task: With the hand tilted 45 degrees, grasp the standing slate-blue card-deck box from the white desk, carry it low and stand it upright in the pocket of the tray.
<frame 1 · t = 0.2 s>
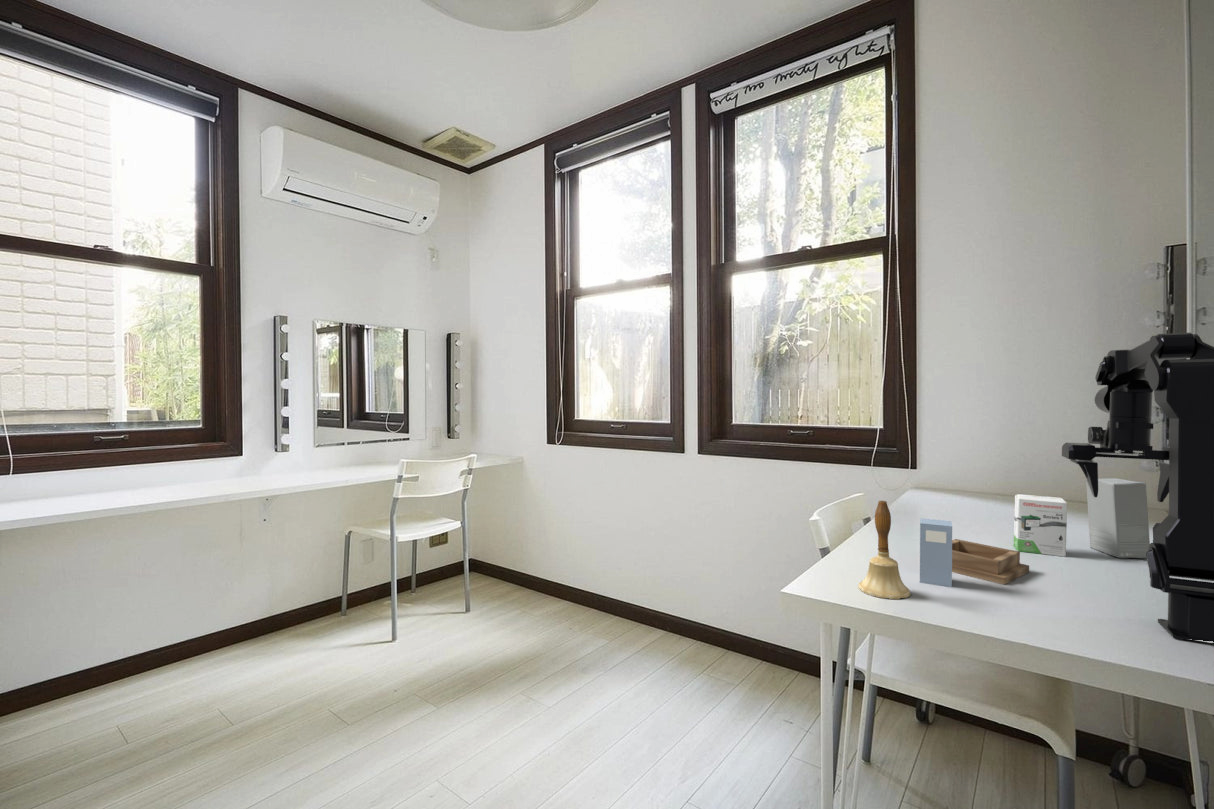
hand: (1126, 499, 103), 15 cm above the table, tool pointing down, fingers open, 9 cm apart
deck box: (935, 580, 102), on the table
ink box: (1039, 552, 119), on the table
hand bell: (883, 591, 97), on the table
skincare box: (1116, 554, 117), on the table
tray: (975, 568, 108), on the table
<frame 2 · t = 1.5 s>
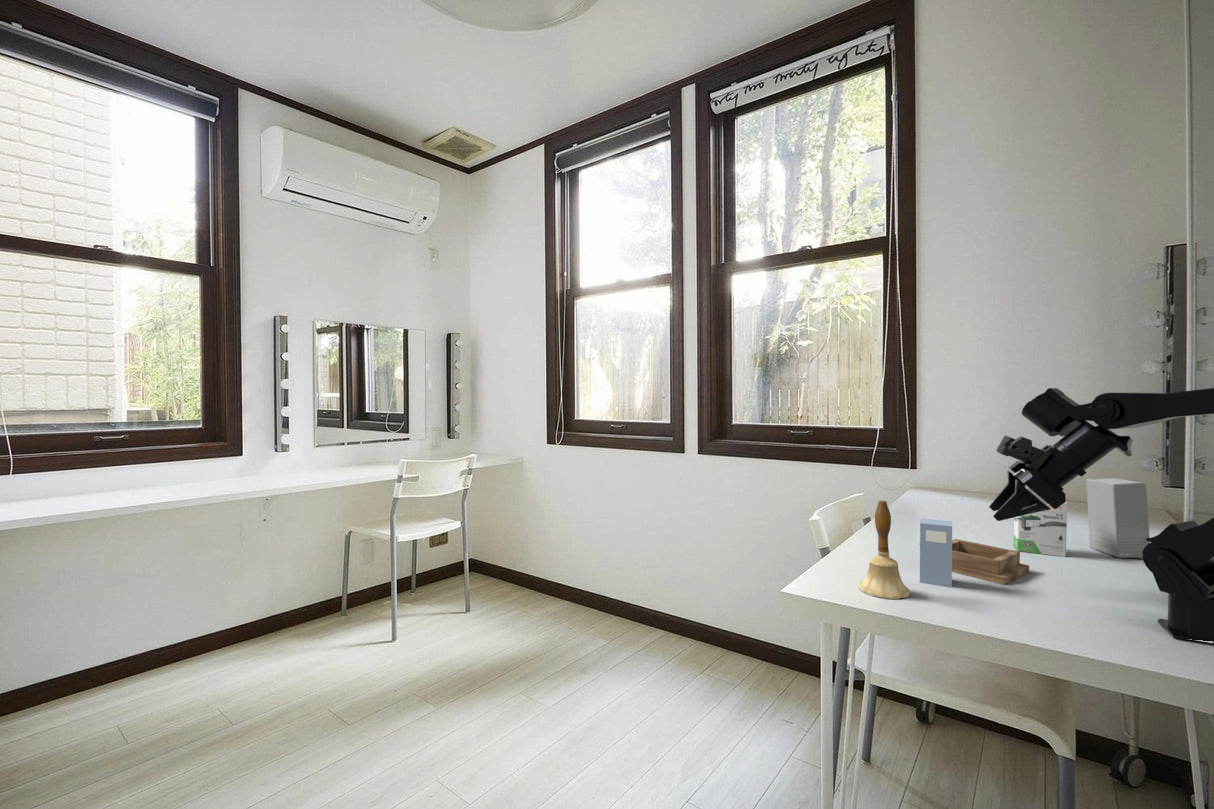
hand: (993, 513, 97), 13 cm above the table, tool tilted 45°, fingers open, 9 cm apart
nothing on the table moved.
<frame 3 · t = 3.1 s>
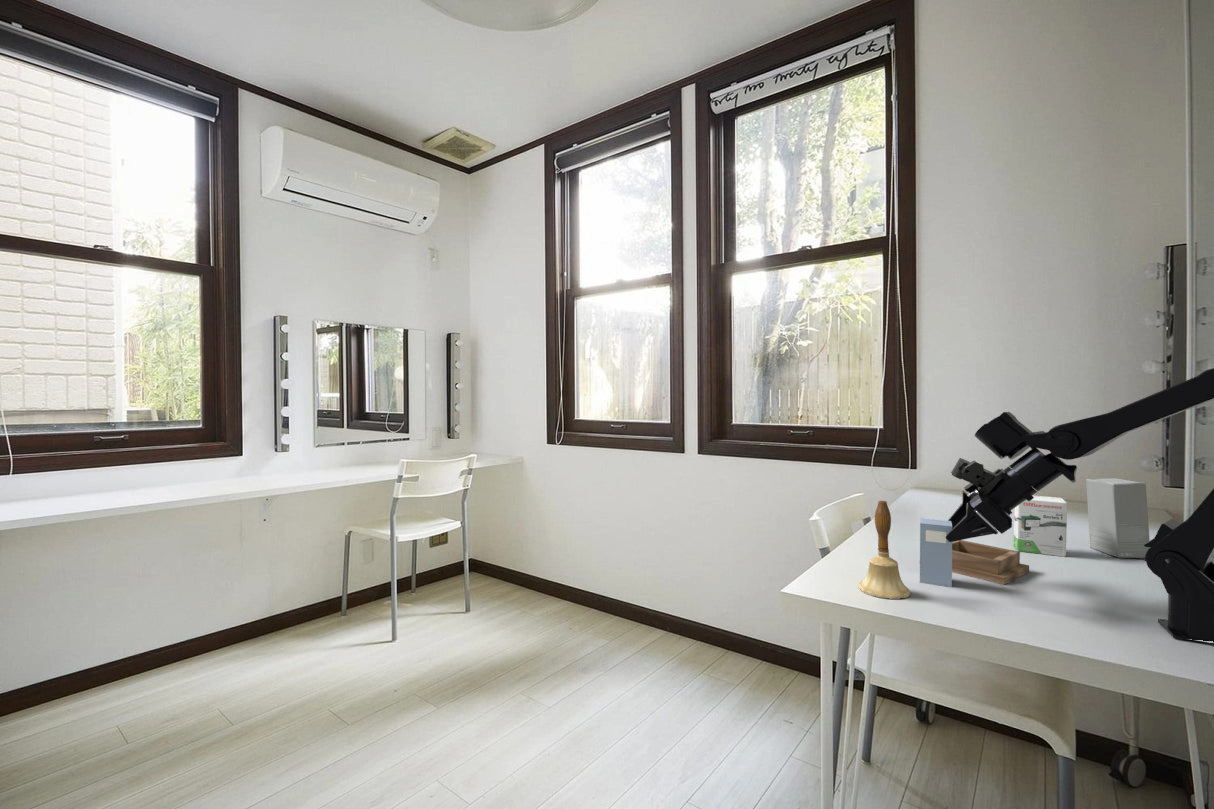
hand: (946, 533, 101), 9 cm above the table, tool tilted 45°, fingers open, 9 cm apart
nothing on the table moved.
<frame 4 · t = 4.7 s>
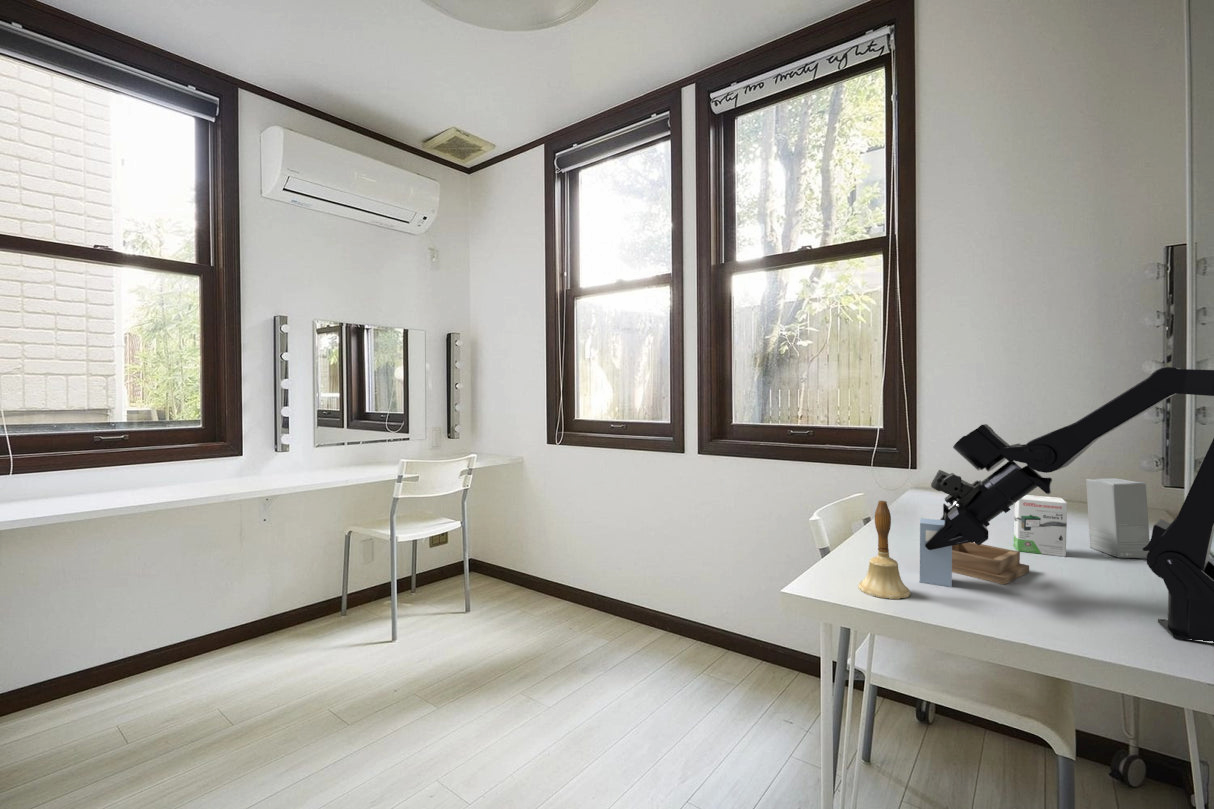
hand: (926, 544, 102), 7 cm above the table, tool tilted 45°, fingers closed on deck box, 5 cm apart
deck box: (935, 580, 102), on the table, touching gripper
everything else where it was.
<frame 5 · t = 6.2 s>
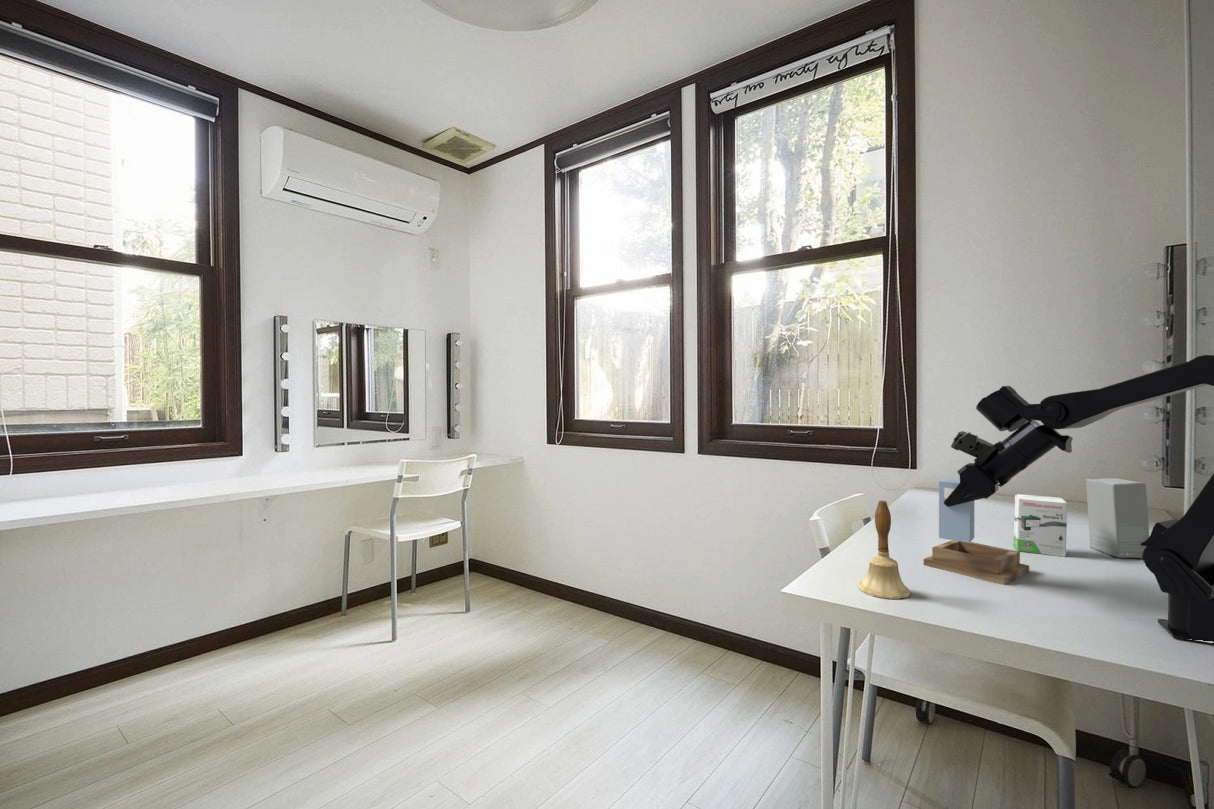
hand: (948, 502, 106), 13 cm above the table, tool tilted 45°, fingers closed on deck box, 5 cm apart
deck box: (956, 537, 105), point 7 cm above the table, touching gripper
everything else where it was.
when the fingers open (9 cm above the table, at t = 7.7 s): deck box drops 1 cm, resting on tray.
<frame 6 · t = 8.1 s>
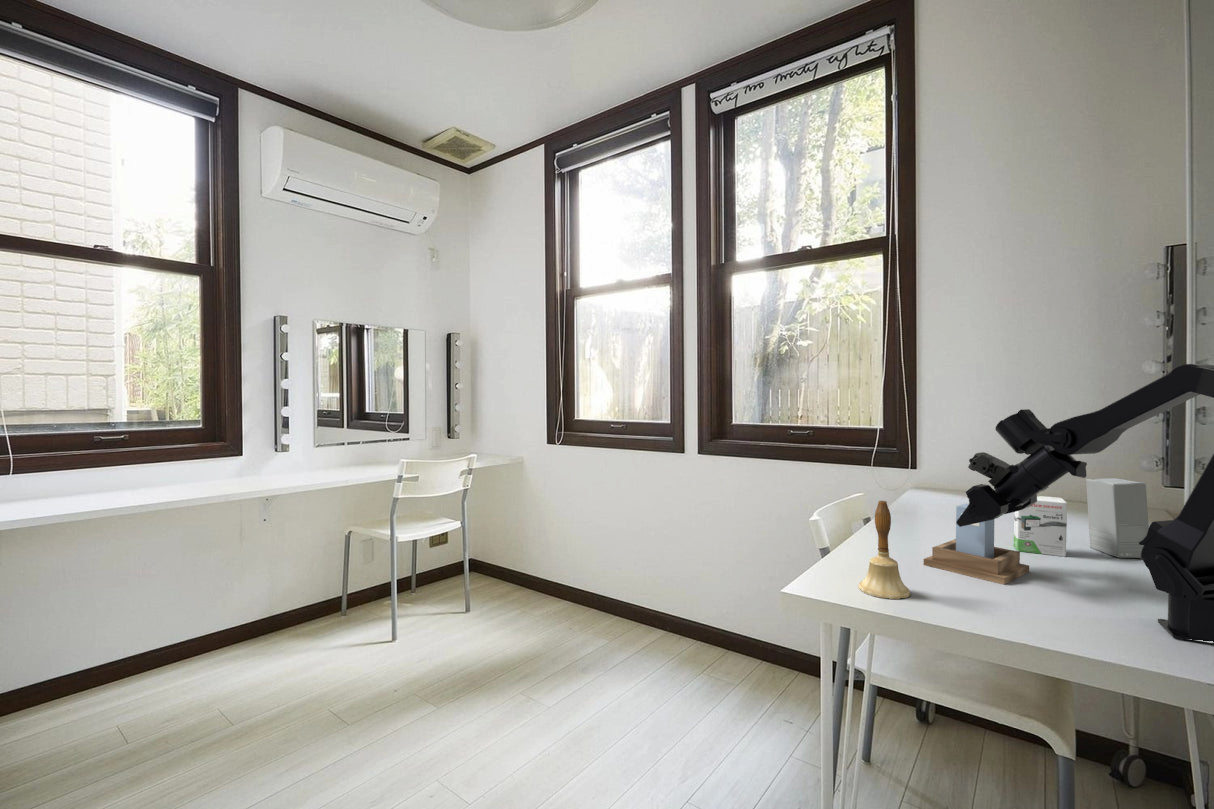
hand: (967, 521, 109), 9 cm above the table, tool tilted 45°, fingers open, 8 cm apart
deck box: (974, 562, 108), point 1 cm above the table, touching tray
everything else where it was.
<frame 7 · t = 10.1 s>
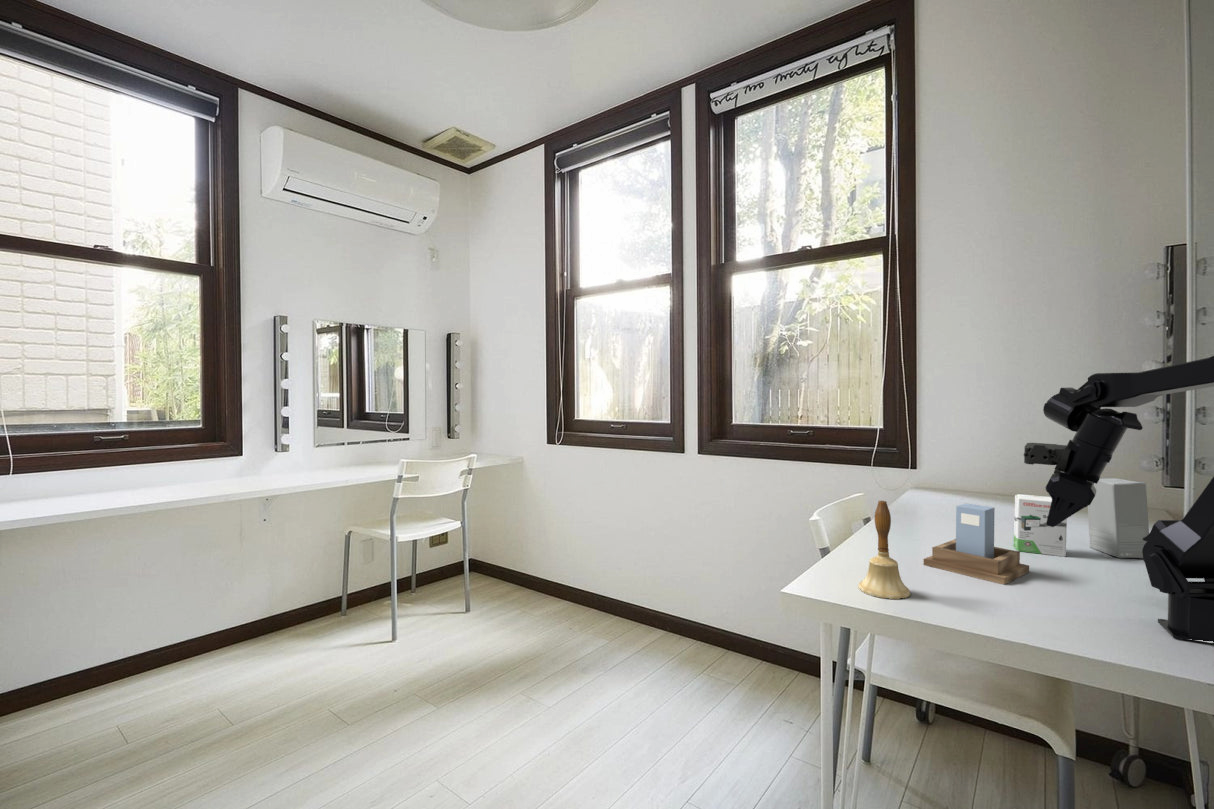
hand: (1052, 518, 100), 12 cm above the table, tool tilted 20°, fingers open, 9 cm apart
nothing on the table moved.
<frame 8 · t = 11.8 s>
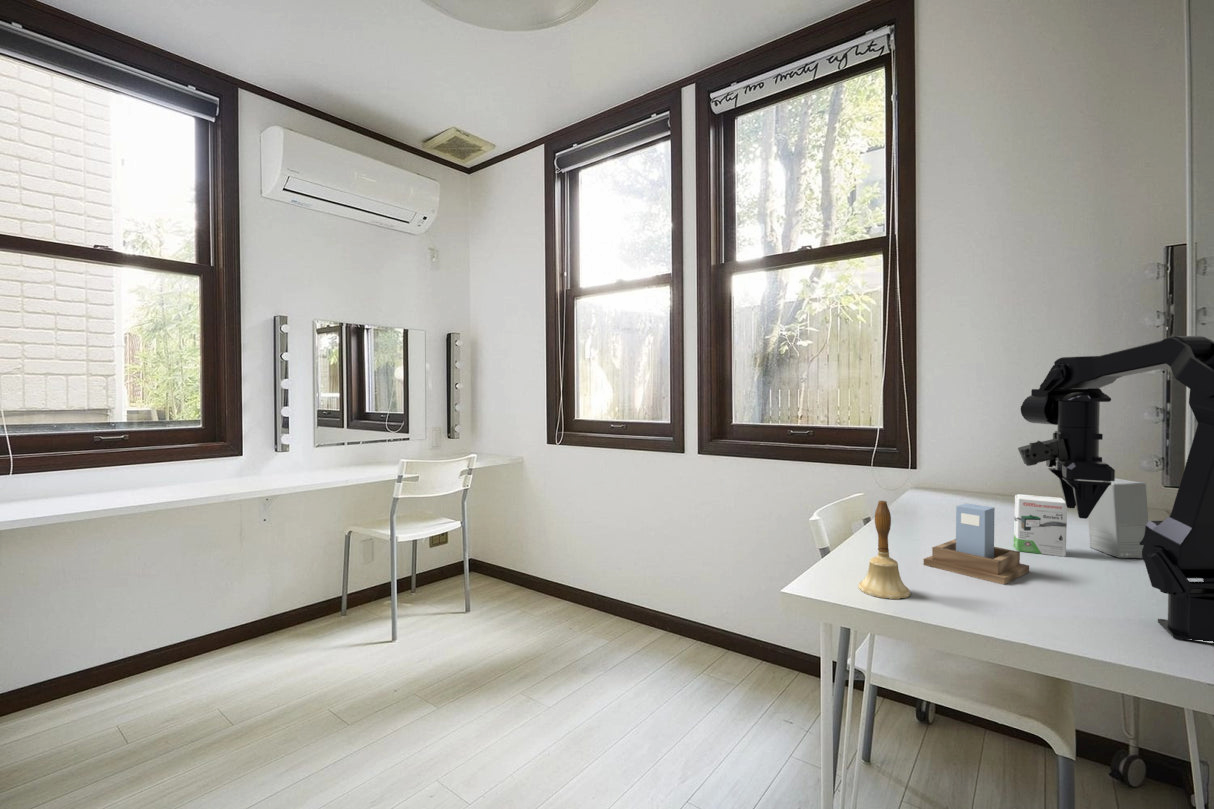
hand: (1076, 512, 99), 13 cm above the table, tool pointing down, fingers open, 9 cm apart
nothing on the table moved.
at the end: deck box inside the target area on the tray (0.1 cm from its centre), point 1.2 cm above the tray's base; deck box tilted 0°; the gripper is holding nothing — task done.
